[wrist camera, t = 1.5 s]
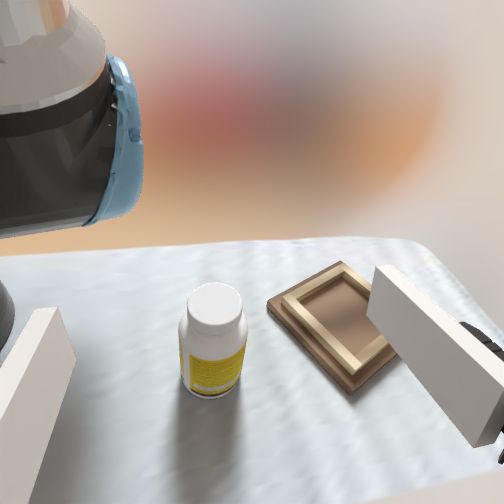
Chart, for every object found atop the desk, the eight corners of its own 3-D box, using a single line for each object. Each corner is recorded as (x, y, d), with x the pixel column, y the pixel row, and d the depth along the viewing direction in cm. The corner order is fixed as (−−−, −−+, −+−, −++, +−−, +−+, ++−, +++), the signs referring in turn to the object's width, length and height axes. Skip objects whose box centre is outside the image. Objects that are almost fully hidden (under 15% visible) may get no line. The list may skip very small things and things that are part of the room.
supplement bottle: (252, 375, 30) (268, 309, 24) (204, 414, 27) (205, 351, 21) (217, 334, 33) (221, 265, 26) (169, 366, 30) (161, 296, 23)
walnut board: (266, 306, 36) (269, 294, 35) (338, 266, 42) (342, 254, 41) (350, 395, 30) (357, 385, 28) (420, 333, 36) (429, 322, 34)
